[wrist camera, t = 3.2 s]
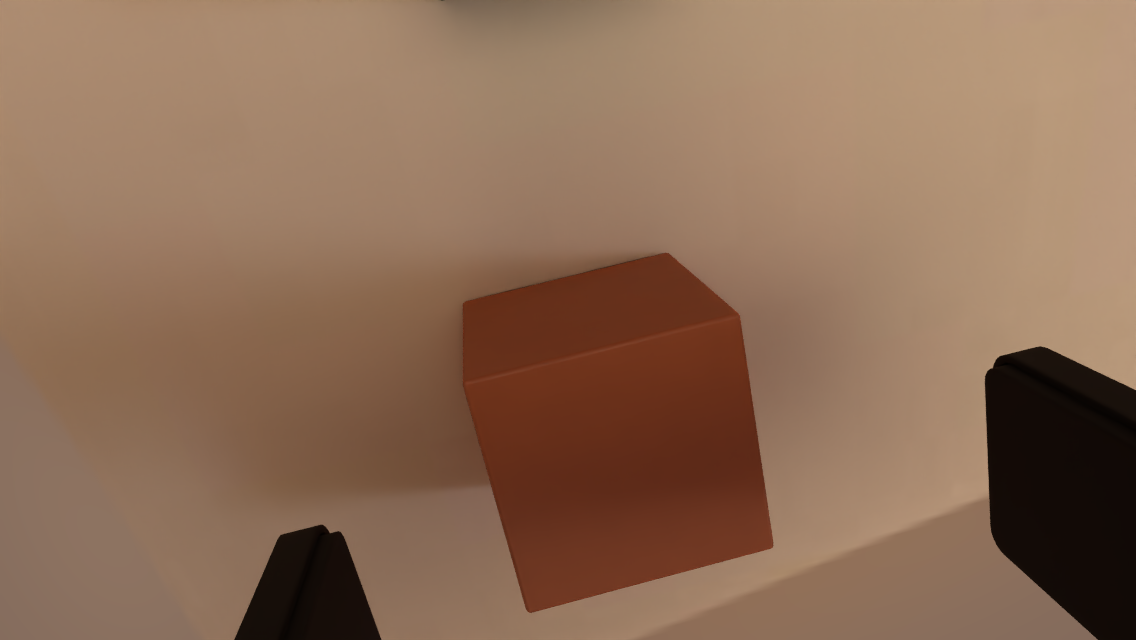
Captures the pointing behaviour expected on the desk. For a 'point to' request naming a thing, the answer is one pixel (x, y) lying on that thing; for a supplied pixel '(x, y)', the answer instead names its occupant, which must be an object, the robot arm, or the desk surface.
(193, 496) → the desk surface
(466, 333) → the terracotta block
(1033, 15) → the desk surface
